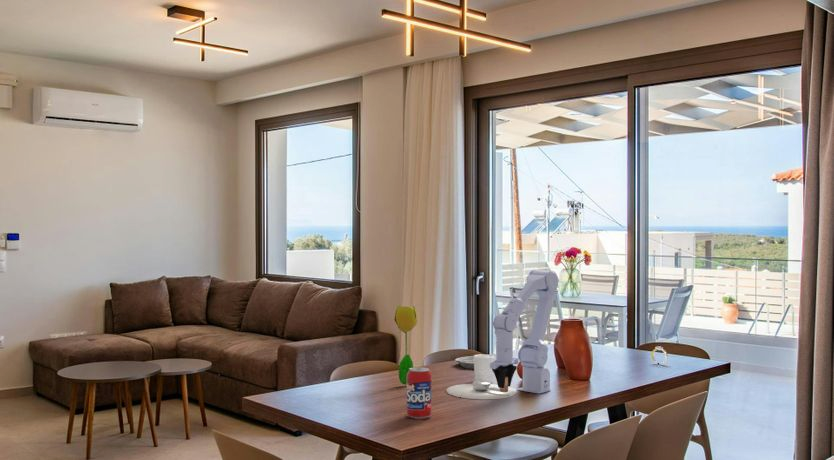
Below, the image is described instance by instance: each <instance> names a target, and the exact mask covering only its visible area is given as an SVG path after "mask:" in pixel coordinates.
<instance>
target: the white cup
mask: <svg viewBox="0 0 834 460" xmlns="http://www.w3.org/2000/svg"><path fill="white" fill-rule="evenodd" d="M473 356H474V369H473V371H474V381H487V382H490V384H493V382H494V372H493V371H492V369H490V363H492V362H494V361H495V356H494V355H492V354H481V353H480V354H474V355H473Z"/></svg>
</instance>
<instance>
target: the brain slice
mask: <svg viewBox="0 0 834 460" xmlns="http://www.w3.org/2000/svg"><path fill="white" fill-rule="evenodd" d="M454 361H455V362H457V363H458V364H459V365H460V366H461V367H462V368H464V369H470V370H471V369H473V370H474V355H471V356H470V355H469V356H468V355H467V356H462V357H461V356H460V357H457V358H455V359H454Z"/></svg>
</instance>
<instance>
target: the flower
mask: <svg viewBox="0 0 834 460" xmlns="http://www.w3.org/2000/svg"><path fill="white" fill-rule="evenodd" d="M393 320H394V322H395V324H396V326H397V327H398V329H399V330H400V331H401V332H402V333H404V335H405V336H404V337H405V355H404V356H403V357H402V359H401V360H400V362H399V364H398V378H399V382H400V383H401V384H403V385H404V387H407V373H408V372H409V369H410V368H414V362H413V360H412V357H411V356H410V354H407V353H408V352H407V349H408V348H407V345H408V332H411V331H412V330H413V329H414V327H415V326H416V325H417V324H418V315H417V312H416V308H415V306H410V307H409V306H406V305H405V306H400V305H397V306H396V308H395V313H394V319H393Z"/></svg>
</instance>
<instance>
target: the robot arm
mask: <svg viewBox="0 0 834 460" xmlns="http://www.w3.org/2000/svg"><path fill="white" fill-rule="evenodd" d="M559 281H560V280H559V276H558V275H557V273H556V271H554V270H537V269H532V270H530V271H529V273H528V274H527V276H526V283H525V284H524V286H523V287H522V288H521V291H520V292H519V293H518V295H517V296H516V298H514V297H513V298H511V299H510V300H508V301H509V302H508V304H507V305H505V308H504V309H503V311H502V312H501V313H498V314H496V315H495V317H494V319H493V321H492V325H493V328H494V333H495V335H496V336H495V337H496V338H495V339H496V340H495V341H496V343H495V344H496V347H495V349H496V352H495V353H496V354H495V356H496V357H495V360H494V362H492V363H490V369H492V371H493V375H494V376H495V380H496V382H497V383H496V385H498V387H499V388H504V386H505V377H506V376H508V387H511V385H512V381H513V378H514V374H515V372H516V370H517V367H518V366H517V365H518V364H519V362H520V365H521V366H522V387H519V388H517V390H518V391H523V392H527V393H528V392H529V393H535V394H543V393H546V392H550V391H551V390H552V389H551V383H550V382H551V379H550V378H551V373H550V370H549V368H547V367H545V365H546V364H547V362H548V357H549V356H548V351H549V347H548V345H547V344H546V343H545V338H546V334H547V329H548V325H549V321H550V317H551V314H552V310H553V306H554V303H555V298H556V294H557V293H556V292H557V290H558V285H559ZM534 293H536V294H537V295H538V297H539V299H538V302H537V306H536V311H535V314H534V317H533V321H532V325H531V329H530V334H529V337H527V338H526V339H525V340H524V341H522V344H521V346H520V348H519V350H518V353H517V358H516V357H513V353H514V352H513V348H514V347H513V344H514V343H513V342H514V333H513V331H514V330H515V329H516V328H517V324H518V320H519V318H520V316H521V314H522V313H523V312H524V311H525V309H526V302H528V301H529V299H530V298H532V295H534Z"/></svg>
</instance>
